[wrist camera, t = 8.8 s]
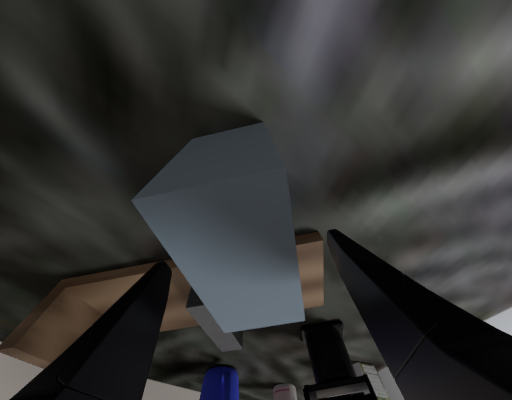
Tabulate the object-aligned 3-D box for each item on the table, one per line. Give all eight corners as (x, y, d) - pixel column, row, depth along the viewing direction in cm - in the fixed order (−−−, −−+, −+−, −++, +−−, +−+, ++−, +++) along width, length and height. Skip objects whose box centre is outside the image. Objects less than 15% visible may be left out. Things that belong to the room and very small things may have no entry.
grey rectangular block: (242, 315, 23) (242, 348, 20) (224, 318, 23) (221, 351, 20) (218, 267, 18) (212, 303, 15) (195, 271, 18) (185, 308, 15)
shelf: (320, 296, 24) (341, 354, 19) (126, 327, 26) (96, 388, 21) (318, 231, 18) (349, 292, 12) (61, 279, 20) (-6, 350, 14)
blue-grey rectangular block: (282, 230, 17) (305, 320, 11) (232, 239, 18) (224, 333, 11) (263, 121, 12) (286, 167, 5) (192, 138, 12) (131, 200, 6)
